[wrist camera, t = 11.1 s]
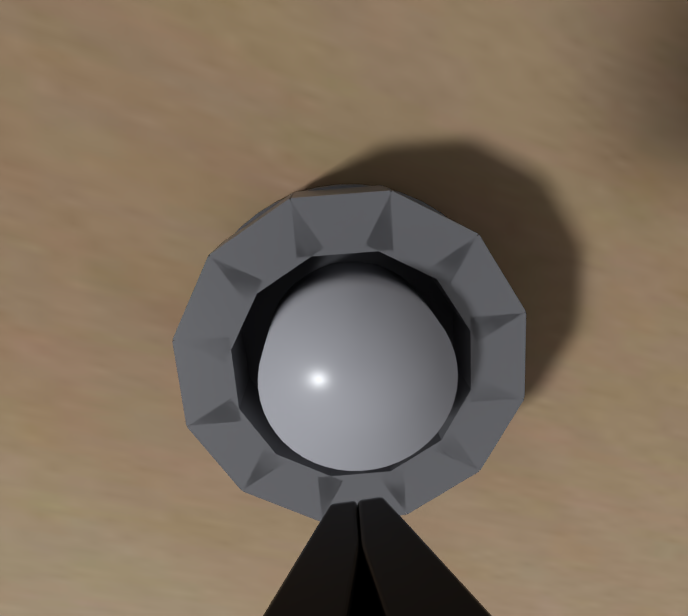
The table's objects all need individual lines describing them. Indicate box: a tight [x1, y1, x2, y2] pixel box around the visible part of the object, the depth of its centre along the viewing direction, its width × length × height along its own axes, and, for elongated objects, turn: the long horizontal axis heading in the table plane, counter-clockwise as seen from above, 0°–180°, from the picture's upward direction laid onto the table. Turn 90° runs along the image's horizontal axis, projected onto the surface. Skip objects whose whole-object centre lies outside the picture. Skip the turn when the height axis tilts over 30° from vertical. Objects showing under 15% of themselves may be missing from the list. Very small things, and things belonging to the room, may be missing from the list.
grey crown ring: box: [172, 184, 526, 521], centre depth 19 cm, size 11×11×3 cm
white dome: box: [258, 262, 458, 471], centre depth 18 cm, size 6×6×4 cm
